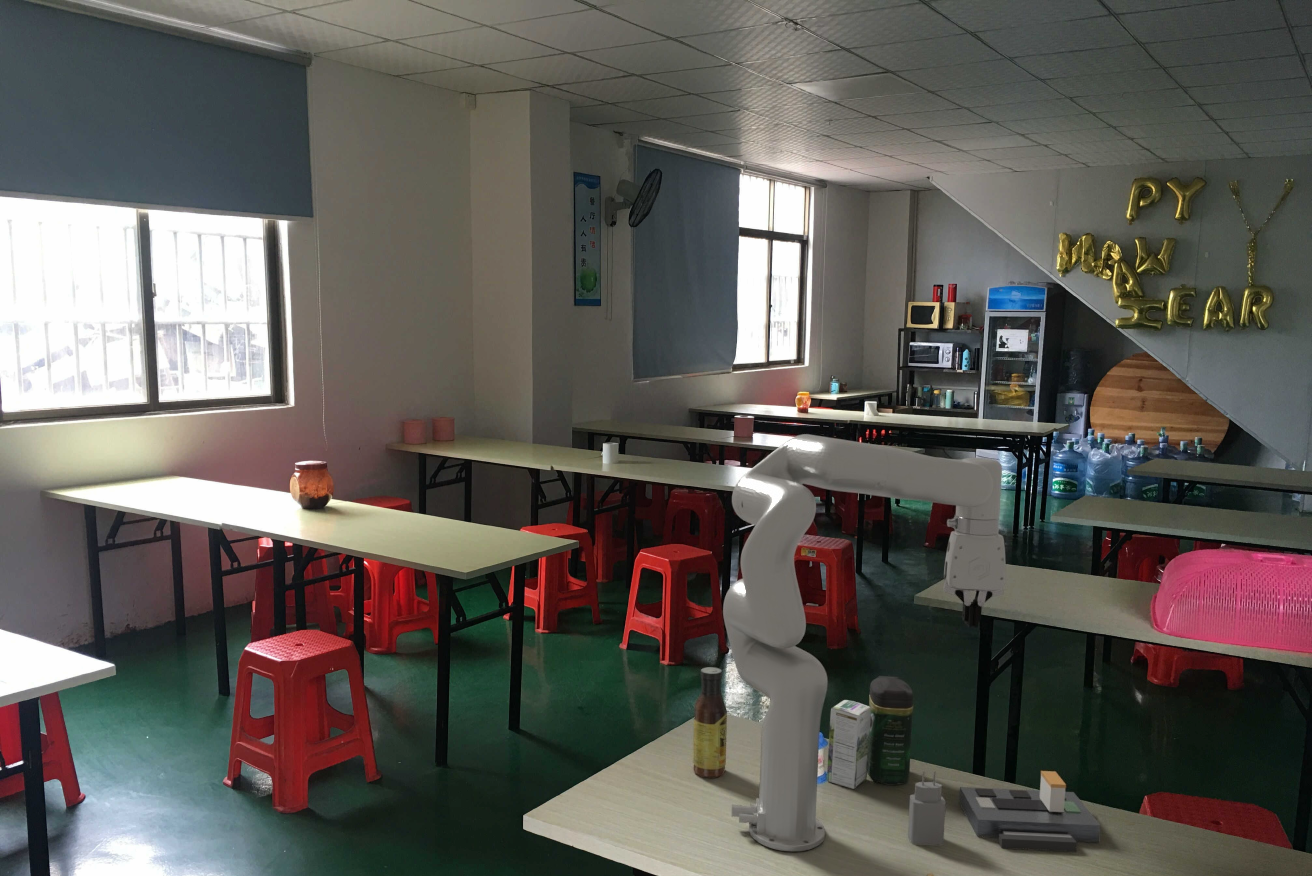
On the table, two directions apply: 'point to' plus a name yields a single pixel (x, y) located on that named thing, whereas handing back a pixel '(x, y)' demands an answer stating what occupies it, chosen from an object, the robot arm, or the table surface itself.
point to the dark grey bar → (1037, 841)
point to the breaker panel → (1025, 814)
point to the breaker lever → (1052, 791)
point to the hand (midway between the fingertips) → (971, 625)
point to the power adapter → (927, 814)
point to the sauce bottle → (710, 726)
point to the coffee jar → (890, 730)
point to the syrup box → (848, 744)
